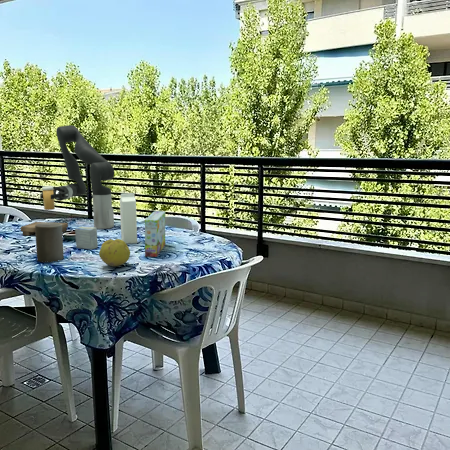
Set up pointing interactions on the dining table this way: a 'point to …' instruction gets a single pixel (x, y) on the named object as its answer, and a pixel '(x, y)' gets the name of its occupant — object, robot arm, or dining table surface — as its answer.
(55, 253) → the pillar candle
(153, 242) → the snack box
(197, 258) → the dining table surface
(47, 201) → the beer glass
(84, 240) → the medicine box
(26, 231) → the walnut stand
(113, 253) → the fruit
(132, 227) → the milk
